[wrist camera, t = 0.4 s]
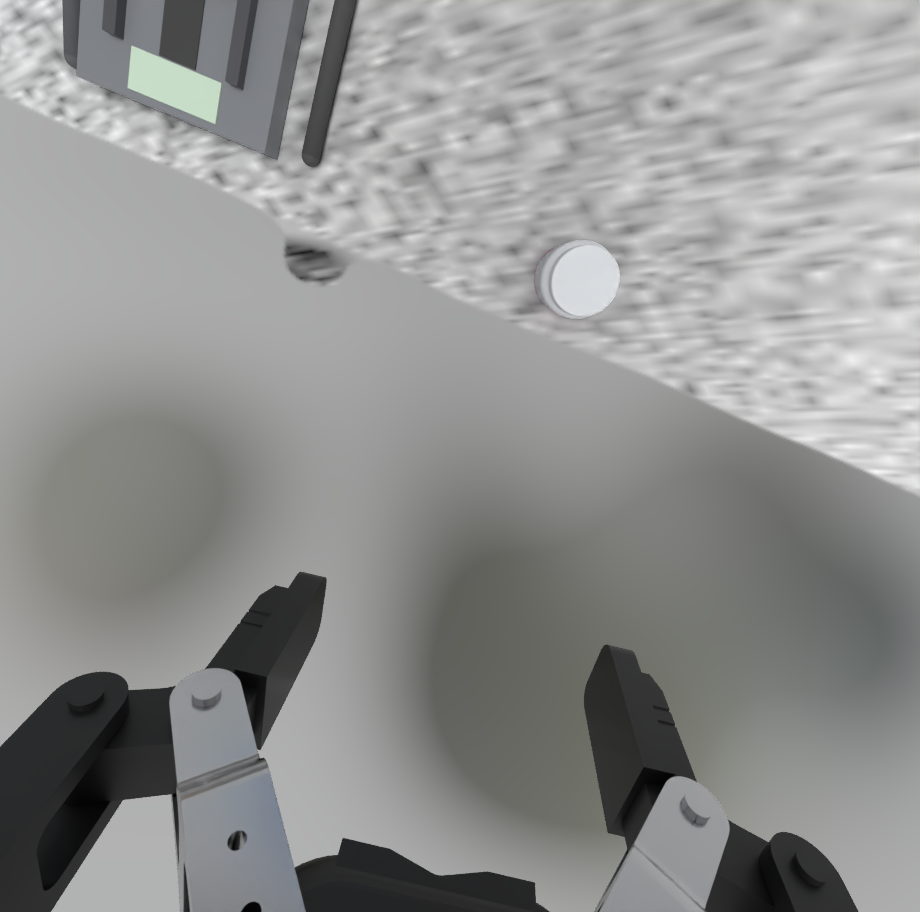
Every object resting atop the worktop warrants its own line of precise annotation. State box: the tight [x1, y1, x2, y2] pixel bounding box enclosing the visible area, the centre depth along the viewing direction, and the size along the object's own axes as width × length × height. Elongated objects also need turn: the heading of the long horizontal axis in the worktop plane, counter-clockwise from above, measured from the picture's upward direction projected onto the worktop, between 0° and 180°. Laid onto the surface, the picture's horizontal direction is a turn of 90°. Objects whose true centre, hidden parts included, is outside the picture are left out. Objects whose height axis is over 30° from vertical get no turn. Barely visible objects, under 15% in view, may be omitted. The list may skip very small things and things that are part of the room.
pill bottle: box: [534, 239, 620, 319], centre depth 32 cm, size 5×5×8 cm
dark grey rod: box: [302, 0, 356, 166], centre depth 30 cm, size 19×1×1 cm, turn 159°
